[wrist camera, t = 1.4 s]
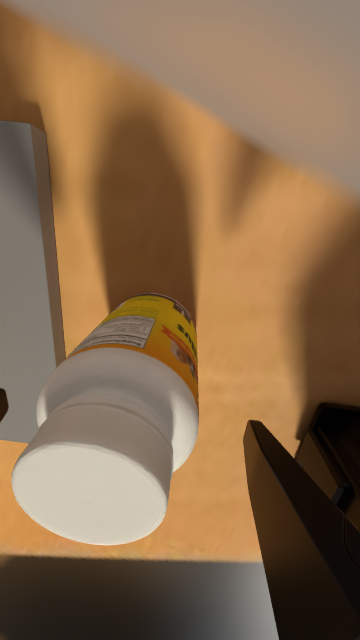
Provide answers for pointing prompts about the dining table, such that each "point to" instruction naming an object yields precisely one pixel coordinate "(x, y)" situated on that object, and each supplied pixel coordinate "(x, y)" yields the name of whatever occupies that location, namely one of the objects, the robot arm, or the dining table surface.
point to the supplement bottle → (114, 426)
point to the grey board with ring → (26, 278)
